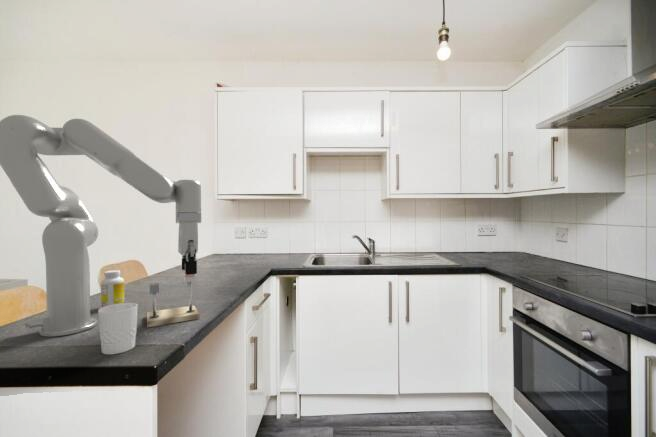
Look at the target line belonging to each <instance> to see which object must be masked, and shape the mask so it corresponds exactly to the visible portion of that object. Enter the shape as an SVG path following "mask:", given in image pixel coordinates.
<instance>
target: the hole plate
mask: <svg viewBox="0 0 656 437" xmlns="http://www.w3.org/2000/svg"><path fill="white" fill-rule="evenodd" d="M199 319H200V313H199V310H198V309H197V308H196V306H195V305H193V304H192V310H189V305H188V306H180V307H174V308H166V309H159V310H158V309H157V310H156V316H153V310H152V311H146V327H147V328H150V327H151V328H152V327H156V326H161V325H169V324H174V323H179V322H186V321H194V320H199Z"/></svg>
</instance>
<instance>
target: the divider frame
mask: <svg viewBox="0 0 656 437" xmlns="http://www.w3.org/2000/svg"><path fill="white" fill-rule="evenodd" d="M194 286H197V281H196V280H195V282H192V287H194ZM148 287H149V294H150V295H151V294H152V311H153V316H156V311H157V294H158V293H160V290H167V289H176V288H187V287H189V282H186V283H185V282H184V281H183V282H174V283H166V284H159V282H157V283H156V282H154V283H149V286H148Z"/></svg>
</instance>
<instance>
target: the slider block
mask: <svg viewBox="0 0 656 437" xmlns="http://www.w3.org/2000/svg"><path fill="white" fill-rule="evenodd" d="M195 281H196V276H195V274H189V275H186V274H185V273H184V275H183V282H185V283H186V282H189V286H188V306H189V310H192V306H193V286H192V282H195Z"/></svg>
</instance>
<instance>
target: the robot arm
mask: <svg viewBox="0 0 656 437" xmlns="http://www.w3.org/2000/svg"><path fill="white" fill-rule="evenodd" d="M38 154H39V155H42V156H86V157H88V158H89V159H90V160H92V161H93V162H95V163H96V164H98V165H99V166H100V167H102V168H103V169H104V170H106V171H108V172H109V173H110V174H112V175H114V176H116V177H117V178H119V179H121V180H122V181H123V182H125V183H126V184H128V185H129V186H131V187H132V188H134V189H135V190H137V191H138V192H140V193H141V194H143V195H144V196H145V197H147V198H148V199H150V200H151V201H154V202H156V203H159V204H169V203H175V224H178V248H177V252H178V253H179V254H180V255H181V271H184V275H185V274H186V275H189V274H194V275H196V274H197V273H198V268H197V267H198V264H197V262H198V260H197V254H198V252H199V227H198V224H201V223H202V185H201V182H200V181H199V180H194V179H180V180H177V181H175V180H174V181H173V180H170V179H169V178H167V177H166V176H164V175H163V174H161V173H160V172H159V171H157V170H156V169H155V168H153V167H152V166H150V165H149V164H147V163H146V162H145V161H144V160H142V159H140V157H138V156H137V155H135V153H134V152H133V151H131V150H130V149H128V148H127V147H126V146H125V145H123V144H122V143H120V142H118V141H117V140H115V138H113V137H111V135H109V134H108V133H106V132H105V131H103V130H102V129H100V128H99V127H98V126H96V125H95V124H94V123H92V122H90V121H88V120H87V119H83V118H71V119H70V120H68V121H66V122H65V123H64V124H63V126H62V127H50V126H48V125H47V124H45V123H44V122H42V121H40V120H38V119H36V118H35V117H34V118H33V117H31V116H28V115H22V114H11V115H8V116H6V117H4V118H2V119H0V167H1V168H2V170H3V172H4V173H5V174H6V176H7V177H8V179H9V181H10V183H11V184H12V186H13V187H14V190H16V192H17V194H18V196H20V198H21V200H22V202H23V203H24V205H25V206H26V208H27V209H28V211H30V212H31V214H33V215H35V216H37V217H43V218H49V220H50V222H49V223H48V224H47V225H46V226H45V228H44V230H43V231H42V236H41V240H42V242H41V243H42V248H43V252H44V258H45V276H46V277H45V283H46V289H45V290H46V315H44V316H42V317H41V318H31V319H26V321H25V327H26V328H29V329H32V328H38V327H41V328H40V329H39V331H38V332H39V335H40V336H41V337H61V336H69V335H73V334H78V333H81V332H84V331H87V330H90V329H92V328H94V327H96V326H97V324H98V320H97V318H94V317H91V291H90V290H91V281H90V280H91V279H90V278H91V275H90V274H91V273H90V270H91V269H90V266H91V265H90V256H89V250H88V247H90V246H91V245H93V244H94V243H95V242H96V241H97V239H98V236H99V229H98V226H97V225H96V222H95V221H94V219H93V217H92V216H91V214H90V213H89V211H88V209H87V208H86V206H85V204H84V203H83V201H82V200H81V199H80V197H79V195H77V193H76V192H75V191H73V190H72V189H70V188H69V187H65V186H64V185H63V186H62V185H60V184H59V183H58V182H57V181H56V179H55V177H54V176H53V174H52V173H51V172H50V170H49V168H48V166H47V165H46V163H45V162H44V161H43V160H42V158H41V157H40V156H39V155H38Z"/></svg>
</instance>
